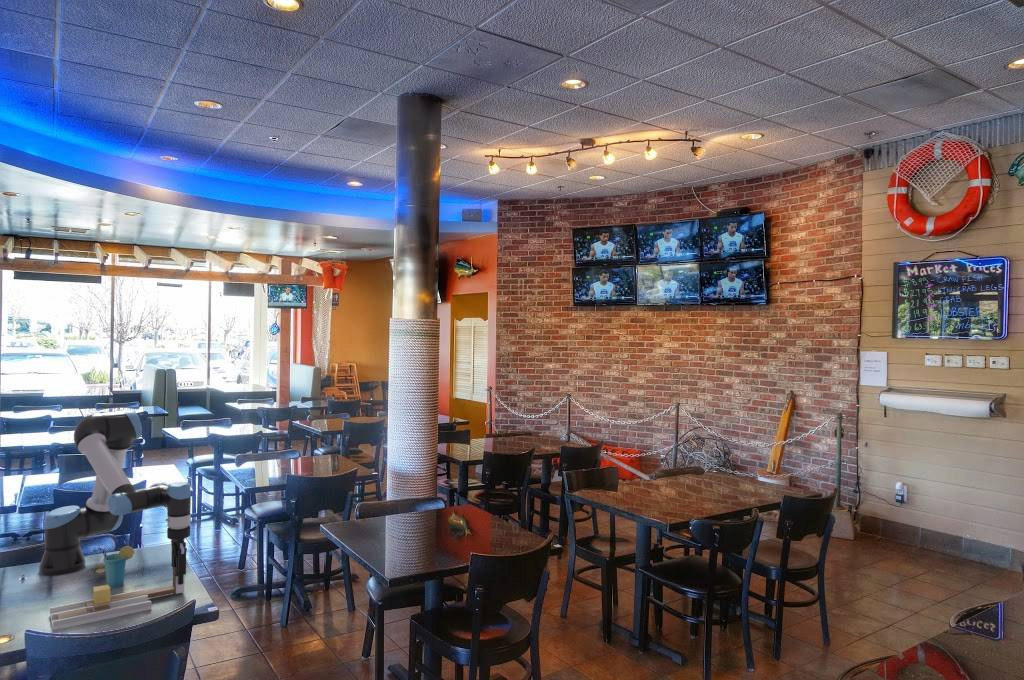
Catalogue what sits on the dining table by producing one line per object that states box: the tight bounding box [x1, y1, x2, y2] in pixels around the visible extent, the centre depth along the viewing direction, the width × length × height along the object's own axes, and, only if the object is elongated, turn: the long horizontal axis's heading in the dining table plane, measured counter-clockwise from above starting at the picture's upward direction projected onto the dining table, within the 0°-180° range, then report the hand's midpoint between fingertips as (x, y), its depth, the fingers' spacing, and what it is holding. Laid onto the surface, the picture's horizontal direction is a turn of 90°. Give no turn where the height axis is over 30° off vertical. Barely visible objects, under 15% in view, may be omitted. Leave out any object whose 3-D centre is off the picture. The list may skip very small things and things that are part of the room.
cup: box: [90, 545, 135, 589], centre depth 257 cm, size 14×8×15 cm, turn 129°
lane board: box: [49, 588, 152, 631], centre depth 234 cm, size 13×28×3 cm, turn 127°
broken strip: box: [57, 604, 110, 620], centre depth 229 cm, size 4×14×2 cm, turn 127°
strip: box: [86, 567, 177, 607], centre depth 243 cm, size 4×30×8 cm, turn 127°
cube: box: [92, 584, 111, 605], centre depth 237 cm, size 4×4×4 cm
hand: (178, 590), depth 252 cm, fingers closed on strip, 4 cm apart
